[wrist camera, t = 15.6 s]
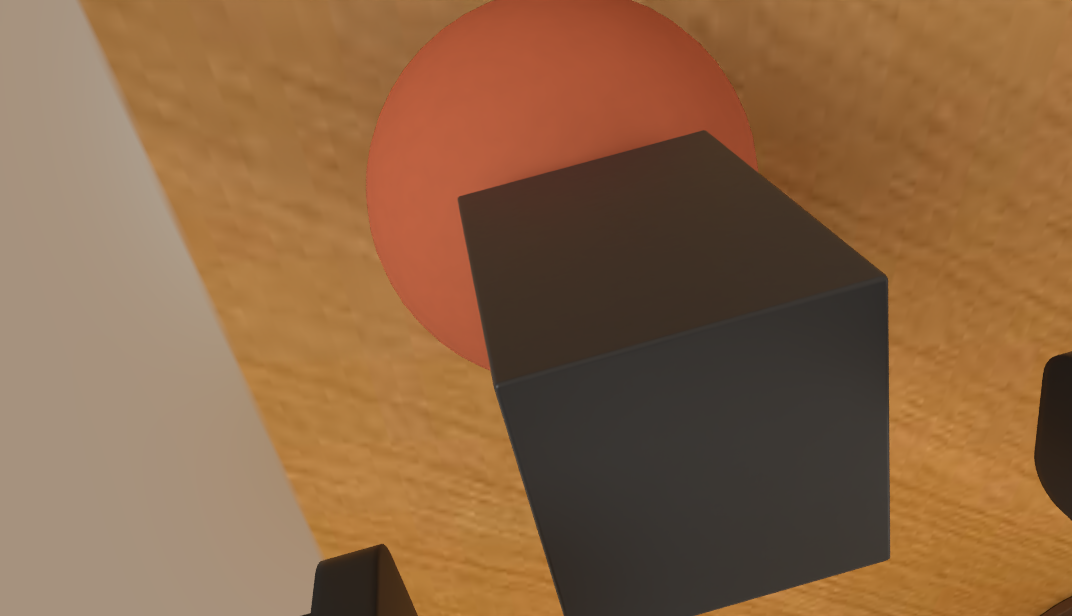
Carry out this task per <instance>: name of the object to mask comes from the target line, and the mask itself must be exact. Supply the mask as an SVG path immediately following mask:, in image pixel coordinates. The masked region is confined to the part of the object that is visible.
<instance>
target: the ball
mask: <svg viewBox="0 0 1072 616" xmlns="http://www.w3.org/2000/svg"><path fill="white" fill-rule="evenodd" d="M702 130H706V131H707V132H708V133H710V134H711V135H712V136H713V137H715V138H716V139H717V140H718V141H720V142H721V143H722V144H723V145H725V146H726V147H727V148H728V149H730V150H731V151H732V152H733V153H735V154H736V155H737V156H738V157H740V158H741V159H742V160H743V161H745V162H746V163H747V164H748V165H749V166H751V167H752V168H753V169H754V170H756V171H757V172H758V166H757V160H756V153H755V147H754V141H753V136H752V133H751V129H750V126H749V123H748V120H747V116H746V113H745V111H744V109H743V107H742V105H741V103H740V101H739V99H738V96H737V94H736V92H735V90H734V89H733V87H732V85H731V83H730V82H729V80H728V79H727V77H726V76H725V74H724V73H723V71H722V70H721V68H720V67H719V65H718V64H717V62H716V61H715V60H714V59H713V58H712V57H711V56H710V54H709V53H708V52H707V51H706V50H705V49H704V48H703V47H702V46H701V45H700V43H698V42H697V41H696V40H695V39H694V38H692V37H691V36H690V35H689V34H687V33H686V32H685V31H684V30H683V29H681V28H680V27H679V26H678V25H676V24H675V23H674V22H673V21H671V20H670V19H668V18H666V17H664V16H663V15H661V14H659V13H658V12H656V11H654V10H653V9H651V8H649V7H647V6H644V5H642V4H639V3H637V2H634V1H632V0H494V1H491V2H488V3H486V4H484V5H482V6H480V7H478V8H476V9H474V10H472V11H470V12H468V13H466V14H464V15H463V16H461V17H460V18H458V19H457V20H456V21H454V22H453V23H451V24H450V25H448V26H447V27H445V28H444V29H442V30H441V31H440V32H439V33H438V34H437V35H436V36H435V37H433V38H432V39H431V40H430V41H429V42H428V43H427V44H426V45H425V46H423V47H422V48H421V50H420V51H419V52H418V53H417V54H416V55H415V57H414V58H413V59H412V60H411V61H410V63H409V64H408V65H407V66H406V67H405V69H404V70H403V72H402V73H401V75H400V77H399V78H398V80H397V81H396V83H395V84H394V86H393V88H392V89H391V91H390V93H389V95H388V97H387V100H386V102H385V104H384V106H383V108H382V111H381V113H380V115H379V118H378V121H377V125H376V128H375V131H374V135H373V138H372V142H371V145H370V151H369V158H368V165H367V176H366V197H367V206H368V214H369V222H370V229H371V233H372V236H373V240H374V244H375V247H376V251H377V254H378V256H379V258H380V260H381V263H382V265H383V267H384V270H385V272H386V274H387V276H388V278H389V280H390V282H391V284H392V286H393V287H394V289H395V291H396V292H397V294H398V295H399V297H400V299H401V300H402V302H403V303H404V305H405V306H406V307H407V308H408V309H409V311H410V312H411V313H412V314H413V316H414V317H415V318H416V319H417V320H418V321H419V322H420V323H421V324H422V325H423V326H424V327H425V328H426V329H427V330H428V331H429V332H430V333H431V334H432V335H433V336H434V337H436V338H437V339H438V340H439V341H440V342H441V343H442V344H444V345H445V346H447V347H448V348H449V349H451V350H452V351H454V352H455V353H457V354H458V355H460V356H461V357H463V358H465V359H467V360H469V361H471V362H473V363H475V364H477V365H479V366H481V367H483V368H485V369H488V370H490V365H489V359H488V354H487V349H486V344H485V339H484V334H483V329H482V324H481V319H480V313H479V308H478V303H477V298H476V293H475V288H474V283H473V278H472V272H471V267H470V262H469V257H468V252H467V247H466V242H465V237H464V232H463V226H462V221H461V216H460V211H459V206H458V201H457V199H458V197H459V196H462V195H466V194H470V193H473V192H477V191H481V190H485V189H488V188H492V187H496V186H499V185H503V184H507V183H510V182H514V181H518V180H521V179H525V178H529V177H533V176H536V175H540V174H544V173H547V172H551V171H555V170H558V169H562V168H566V167H570V166H573V165H577V164H581V163H584V162H588V161H592V160H595V159H599V158H603V157H606V156H610V155H614V154H618V153H621V152H625V151H629V150H632V149H636V148H640V147H643V146H647V145H651V144H654V143H658V142H662V141H666V140H669V139H673V138H677V137H680V136H684V135H688V134H691V133H695V132H699V131H702ZM490 371H491V370H490Z"/></svg>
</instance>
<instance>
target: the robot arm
mask: <svg viewBox="0 0 1072 616" xmlns="http://www.w3.org/2000/svg"><path fill="white" fill-rule="evenodd" d="M1034 459H1035V466H1036V471H1037V474H1038V477H1039V479H1040V481H1041V484H1042V486H1043V488H1044V489H1045V491H1046V493H1047V494H1048V496H1049V497H1050V499H1051V500H1052V501H1053V502H1054V504H1055V505H1056V506H1057V507H1058V508H1059V509H1060V510H1061V511H1062V512H1063V513H1064V514H1065V515H1067V516H1068V517H1069V518H1070V519H1071V520H1072V351H1071V352H1068V353H1064V354H1061V355H1057V356H1054V357H1052V358H1051V359H1050V360H1049V361H1048V362H1047V363H1046V365H1045V368H1044V372H1043V379H1042V388H1041V398H1040V407H1039V416H1038V425H1037V434H1036V443H1035V453H1034ZM303 616H418V615H417V613H416V610H415V608H414V606H413V603H412V601H411V599H410V597H409V594H408V592H407V590H406V587H405V585H404V583H403V581H402V578H401V576H400V574H399V571H398V569H397V567H396V565H395V562H394V560H393V558H392V556H391V553H390V551H389V550H388V548H387V547H386V546H385V545H384V544H380V545H376V546H373V547H369V548H366V549H362V550H359V551H355V552H352V553H348V554H344V555H341V556H337V557H334V558H330V559H327V560H323V561H321V562H319V564H318V566H317V569H316V573H315V581H314V589H313V598H312V607H311V613H310V614H306V615H303Z"/></svg>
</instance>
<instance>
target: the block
mask: <svg viewBox="0 0 1072 616" xmlns="http://www.w3.org/2000/svg"><path fill="white" fill-rule="evenodd" d="M457 201H458V206H459V211H460V216H461V221H462V226H463V232H464V237H465V242H466V247H467V252H468V257H469V262H470V267H471V272H472V278H473V283H474V288H475V293H476V298H477V303H478V308H479V313H480V319H481V324H482V329H483V334H484V339H485V344H486V349H487V354H488V359H489V365H490V370H491V375H492V380H493V385H494V389H495V392H496V396H497V399H498V402H499V406H500V409H501V412H502V415H503V419H504V422H505V425H506V428H507V432H508V435H509V438H510V441H511V445H512V448H513V451H514V454H515V458H516V461H517V464H518V468H519V471H520V474H521V477H522V481H523V484H524V487H525V490H526V494H527V497H528V500H529V503H530V507H531V510H532V513H533V517H534V520H535V523H536V526H537V530H538V533H539V536H540V539H541V543H542V546H543V549H544V552H545V556H546V559H547V562H548V566H549V569H550V572H551V575H552V579H553V582H554V585H555V588H556V592H557V595H558V598H559V601H560V605H561V608H562V611H563V615H564V616H695V615H699V614H702V613H706V612H709V611H713V610H716V609H720V608H723V607H727V606H730V605H734V604H737V603H741V602H744V601H747V600H751V599H754V598H758V597H761V596H765V595H768V594H772V593H775V592H779V591H782V590H786V589H789V588H793V587H796V586H800V585H803V584H806V583H810V582H813V581H817V580H820V579H824V578H827V577H831V576H834V575H838V574H841V573H845V572H848V571H852V570H855V569H859V568H862V567H865V566H869V565H872V564H876V563H879V562H883V561H886V560H888V559H889V558H890V482H889V342H888V278H887V276H886V275H885V274H884V273H883V272H881V271H880V270H879V269H878V268H876V267H875V266H874V265H873V264H871V263H870V262H869V261H868V260H866V259H865V258H864V257H863V256H861V255H860V254H859V253H858V252H856V251H855V250H854V249H853V248H851V247H850V246H849V245H848V244H846V243H845V242H844V241H843V240H842V239H840V238H839V237H838V236H837V235H835V234H834V233H833V232H832V231H830V230H829V229H828V228H827V227H825V226H824V225H823V224H822V223H820V222H819V221H818V220H817V219H815V218H814V217H813V216H812V215H810V214H809V213H808V212H807V211H805V210H804V209H803V208H802V207H800V206H799V205H798V204H797V203H796V202H794V201H793V200H792V199H791V198H789V197H788V196H787V195H786V194H784V193H783V192H782V191H781V190H779V189H778V188H777V187H776V186H774V185H773V184H772V183H771V182H769V181H768V180H767V179H766V178H764V177H763V176H762V175H761V174H759V173H758V172H757V171H756V170H754V169H753V168H752V167H751V166H749V165H748V164H747V163H746V162H745V161H743V160H742V159H741V158H740V157H738V156H737V155H736V154H735V153H733V152H732V151H731V150H730V149H728V148H727V147H726V146H725V145H723V144H722V143H721V142H720V141H718V140H717V139H716V138H715V137H713V136H712V135H711V134H710V133H708V132H707V131H706V130H702V131H699V132H695V133H691V134H688V135H684V136H680V137H677V138H673V139H669V140H666V141H662V142H658V143H654V144H651V145H647V146H643V147H640V148H636V149H632V150H629V151H625V152H621V153H618V154H614V155H610V156H606V157H603V158H599V159H595V160H592V161H588V162H584V163H581V164H577V165H573V166H570V167H566V168H562V169H558V170H555V171H551V172H547V173H544V174H540V175H536V176H533V177H529V178H525V179H521V180H518V181H514V182H510V183H507V184H503V185H499V186H496V187H492V188H488V189H485V190H481V191H477V192H473V193H470V194H466V195H462V196H459V197H458V199H457Z"/></svg>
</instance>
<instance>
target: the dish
mask: <svg viewBox="0 0 1072 616" xmlns="http://www.w3.org/2000/svg"><path fill="white" fill-rule="evenodd" d="M1041 616H1072V597H1070V598H1068V599H1066V600H1064V601H1063V602H1061V603H1059V604H1058V605H1056V606H1054V607H1053V608H1051V609H1050V610H1048V611H1047V612H1046V613H1044V614H1043V615H1041Z"/></svg>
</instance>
